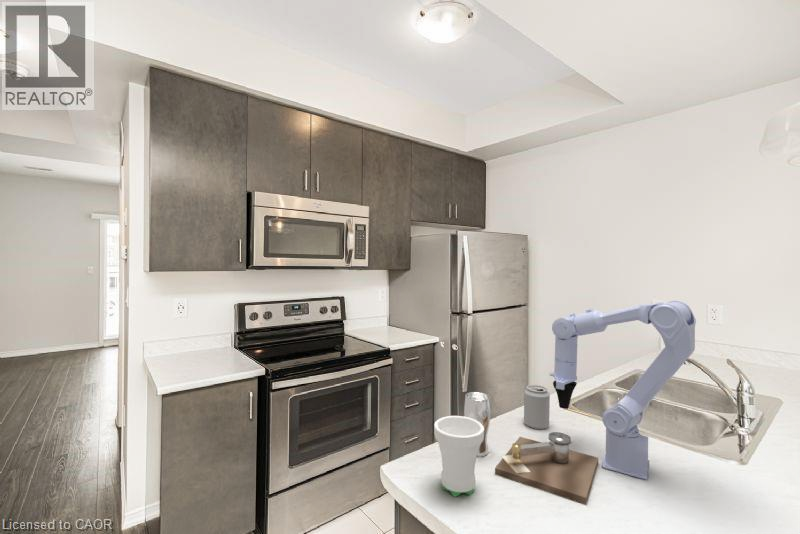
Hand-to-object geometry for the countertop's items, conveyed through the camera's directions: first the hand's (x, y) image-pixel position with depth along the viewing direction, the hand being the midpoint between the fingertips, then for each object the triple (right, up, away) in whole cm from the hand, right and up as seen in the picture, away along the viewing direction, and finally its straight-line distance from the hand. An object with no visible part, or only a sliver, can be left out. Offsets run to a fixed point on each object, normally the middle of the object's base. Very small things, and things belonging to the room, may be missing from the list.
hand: (564, 407), depth 107 cm
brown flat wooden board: (-9, -11, -13) cm, 19 cm away
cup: (-33, -11, -21) cm, 41 cm away
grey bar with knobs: (-11, -9, -12) cm, 19 cm away
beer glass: (-25, -10, -4) cm, 28 cm away
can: (-3, -10, +12) cm, 16 cm away
